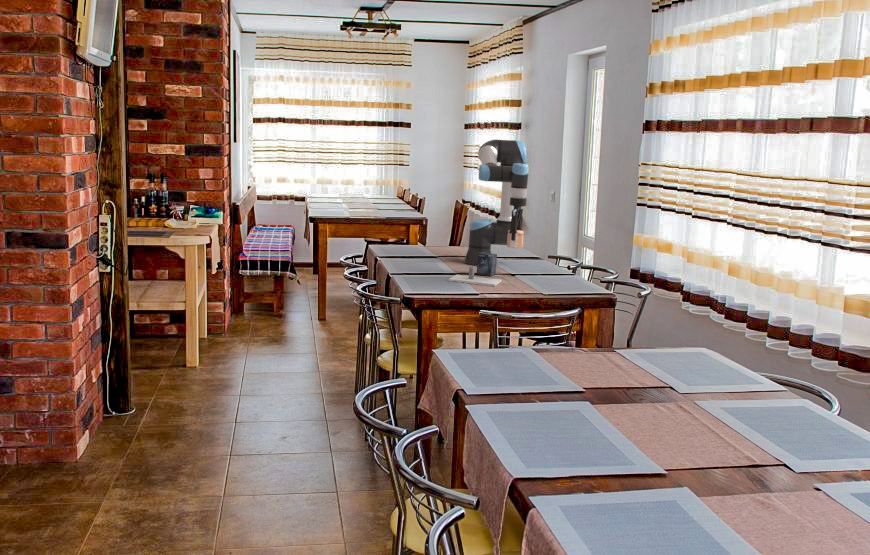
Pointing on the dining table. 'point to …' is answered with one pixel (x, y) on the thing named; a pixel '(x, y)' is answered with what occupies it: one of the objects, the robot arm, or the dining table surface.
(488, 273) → the box
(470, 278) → the white board with peg
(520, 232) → the peach block
